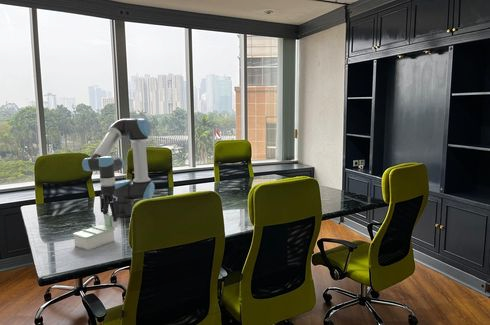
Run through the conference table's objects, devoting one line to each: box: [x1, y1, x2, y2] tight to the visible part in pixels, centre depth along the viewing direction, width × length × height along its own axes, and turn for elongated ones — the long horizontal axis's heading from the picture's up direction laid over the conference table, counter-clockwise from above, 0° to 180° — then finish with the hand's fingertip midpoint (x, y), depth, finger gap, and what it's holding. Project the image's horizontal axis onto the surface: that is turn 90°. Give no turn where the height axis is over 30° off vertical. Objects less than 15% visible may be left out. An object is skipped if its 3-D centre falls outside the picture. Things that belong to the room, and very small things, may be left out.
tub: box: [73, 230, 115, 252], centre depth 196 cm, size 11×16×6 cm
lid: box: [72, 212, 116, 240], centre depth 197 cm, size 12×21×8 cm, turn 146°
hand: (110, 225), depth 204 cm, fingers open, 6 cm apart
